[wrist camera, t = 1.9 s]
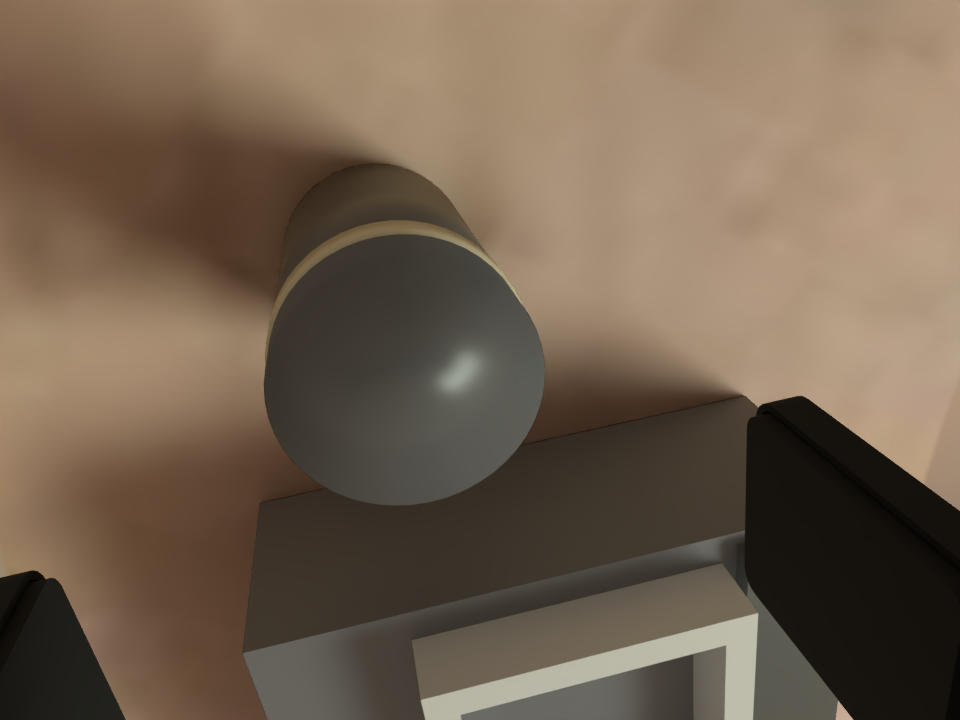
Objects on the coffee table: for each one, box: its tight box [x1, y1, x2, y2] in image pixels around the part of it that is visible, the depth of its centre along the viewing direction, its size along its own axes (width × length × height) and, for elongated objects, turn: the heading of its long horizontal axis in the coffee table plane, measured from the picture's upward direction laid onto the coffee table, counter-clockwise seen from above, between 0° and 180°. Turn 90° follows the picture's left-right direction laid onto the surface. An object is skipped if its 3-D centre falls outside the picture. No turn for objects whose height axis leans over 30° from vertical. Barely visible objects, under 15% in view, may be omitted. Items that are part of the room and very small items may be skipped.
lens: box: [264, 164, 545, 506], centre depth 17 cm, size 5×5×8 cm
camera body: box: [243, 396, 838, 720], centre depth 23 cm, size 16×10×8 cm, turn 97°
